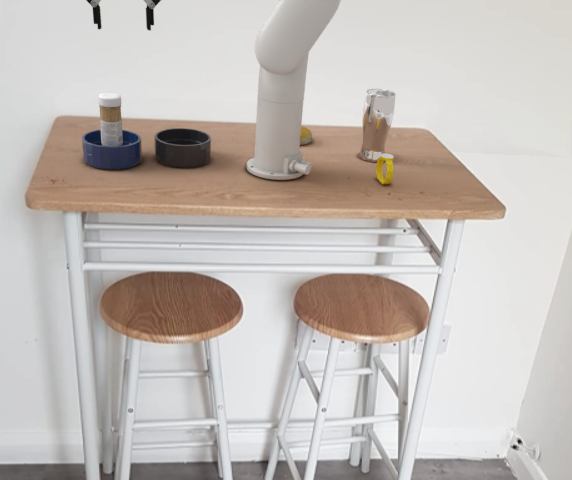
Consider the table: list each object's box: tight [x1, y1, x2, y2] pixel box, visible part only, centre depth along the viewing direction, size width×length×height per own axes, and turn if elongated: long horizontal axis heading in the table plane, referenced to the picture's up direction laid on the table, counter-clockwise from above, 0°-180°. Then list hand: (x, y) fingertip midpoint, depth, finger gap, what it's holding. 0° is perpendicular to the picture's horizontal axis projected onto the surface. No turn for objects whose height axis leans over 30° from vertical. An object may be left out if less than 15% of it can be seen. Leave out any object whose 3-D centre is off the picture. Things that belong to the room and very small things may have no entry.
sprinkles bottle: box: [97, 92, 123, 146], centre depth 147 cm, size 5×5×14 cm
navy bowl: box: [81, 128, 143, 171], centre depth 150 cm, size 12×12×5 cm
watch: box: [375, 153, 395, 185], centre depth 151 cm, size 6×3×6 cm, turn 16°
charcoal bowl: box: [153, 127, 212, 169], centre depth 154 cm, size 12×12×5 cm
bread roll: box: [300, 125, 313, 146], centre depth 171 cm, size 8×9×4 cm
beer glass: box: [358, 88, 397, 163], centre depth 162 cm, size 7×7×15 cm
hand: (124, 28), depth 141 cm, fingers open, 9 cm apart
